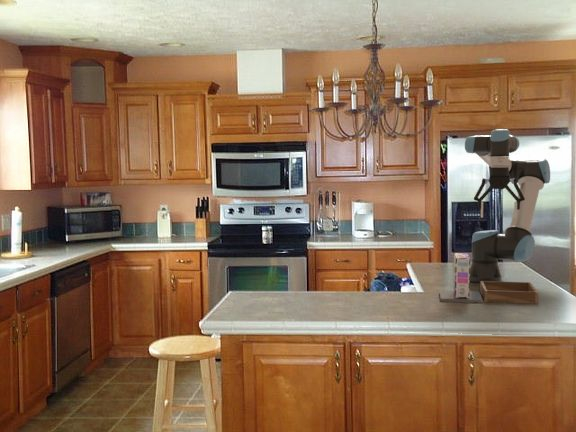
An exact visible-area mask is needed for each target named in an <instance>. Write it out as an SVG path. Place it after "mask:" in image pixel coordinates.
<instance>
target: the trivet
mask: <svg viewBox="0 0 576 432" xmlns="http://www.w3.org/2000/svg"><path fill="white" fill-rule="evenodd" d="M439 299H440V302H445V303H446V302H447V303H471V302H478V304H482V303H483V297H482V294H481V292H480V291H477V290H476V291H474V290H472V291H470V290H469V298H455V295H454V290H441V289H440V290H439Z"/></svg>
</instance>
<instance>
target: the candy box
mask: <svg viewBox="0 0 576 432" xmlns="http://www.w3.org/2000/svg"><path fill="white" fill-rule="evenodd" d="M453 264H454V265H453V291H454V295H455V298H469V291H470V288H471V287H470V283H471V281H470V267H471V257H470V255H469V253H467V252H466V253H465V252H464V253H463V252H456V253H454V254H453Z"/></svg>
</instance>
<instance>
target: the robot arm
mask: <svg viewBox="0 0 576 432" xmlns="http://www.w3.org/2000/svg"><path fill="white" fill-rule="evenodd" d="M519 147H520V140H519V139H518V137H517V136H515V135H513V134H511V133H510V130H509V129H493V130H491V132H490V135H471V136H469V135H468V136H467V137H466V138H465V141H464V149H465V152H466V153H468V154H475V155H477V156H478V157H479V158H480V159H482V160H483V162H484V163H486V164H487V165H488V166H489V167H490V168H489V178H483V177H482V179H481V184H480V186H479V187H478V189H477V192H476V193H475V196H474V197H473V200H474V201H476V202H477V209H478V210H480V218H484V202H483V200H484V199H485V198H486V197H487V195H488V194H489V193H490V192H492V190H493V189H494V190H504V189H505V190H507V192H508V193H509V195H510V196H511V197H512V198H513V199H514V200H515V201H514V203H513V205H514V208H513V213H512V218H511V222H510V225H509V227H506V229H505V231H504V233H500V232H499V230H497V229H492V230H491V229H490V230H480V231H475V232H473V233H472V237H471V238H472V239H471V263H470V282H472V283H479V284H480V281H494V282H503V281H502V279H503V277H502V273H501V270H500V266H499V260H505V261H516V262H526V261H528V260H530V259H531V258H532V255H533V253H534V251H535V250H534V249H535V243H536V241H535V238H534V236H533V233H532V232H531V231H530V230H531V226H532V223H533V222H532V221H533V218H534V214H535V211H536V205H537V201H538V198H539V193H540V191H542V190H543V188H544V186H545V184H549V183H550V181H551V168H550V163H549V162H548V160H547V159H546V158H539V157H537V158H510V154H512V153H514V152H516V151H517V150H518V149H519ZM487 183H489V184H490V186H489V187H488V188H487V189H486V190H485V191H484V192H483V193H482V195H481V192H482V191H483V190H484V187H485V185H486V184H487ZM510 183H511V184H513V186H514V188H515V191H516V192H517V194H515V192H514V191H513V190H512V189H511V187H509V184H510ZM480 195H481V196H480Z"/></svg>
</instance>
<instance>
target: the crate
mask: <svg viewBox="0 0 576 432" xmlns="http://www.w3.org/2000/svg"><path fill="white" fill-rule="evenodd" d="M479 284H480V285H479V286H480V288H479V289H480V290H479V293H480V295H481V297H482V300H483V301H485V303H504V302H505V303H507V304H534V303H538V304H539V291H538V290H537V289H536V288H535V286H533V284H532V283H531V282H526V281H525V282H524V281H522V282H520V281H501V282H494V281H480V283H479Z"/></svg>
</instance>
